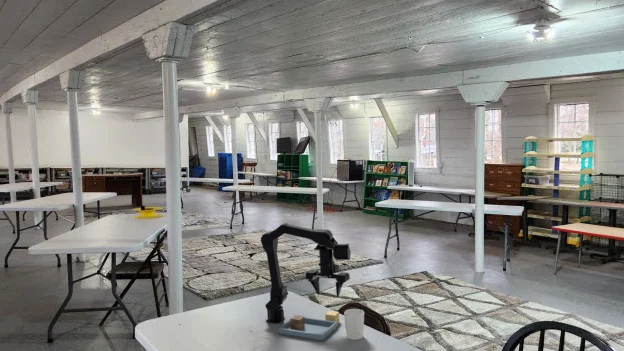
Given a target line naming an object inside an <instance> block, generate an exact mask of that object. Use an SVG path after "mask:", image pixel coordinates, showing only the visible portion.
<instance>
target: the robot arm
mask: <svg viewBox="0 0 624 351" xmlns="http://www.w3.org/2000/svg"><path fill="white" fill-rule="evenodd" d="M284 234H286V235H290V236H293V237H294V236H295V237H298V238H299V237H300V238H303V239H307V240H311V241H312V242H314V243H315V244H317V245H316V246H315V248H314V251H318V254H319V262H318V263H317V264H318V267H319V270H320V271H319V270H318V269H317V270H315V269H310V270H308V271H306V272H305V276H304V277H305V278H304V279H305V280H307V281H308V282H309V283H310V284H311V285H312V287H313V288H314V291H315V293H316V294H317V296H319V295H320V294H321V292H320V279H321V278H322V279H335V280H336V282H335V292H336V297H337V298H339V297H340V294H341V291H342V287H343V285H344V283H346V282H348V281H349V280H350V279H351V276H350V273H349V272H343V271H340V265H339V264H336V262H335V260H336V261H351V252H352V251H351V248H350V244H349V243H338V241H337V240H336V239H335V238H334V235H333V232H332V231H331V230H329V229H324V228H323V229H321V228H320V229H312V228H307V227H302V226H300V225H299V226H298V225H294V224H289V223H287V222H285V223H282V224H281V225H279V226H278V227H277V228H275V229H274V230H270V231H267V232H266V233H264V234H263V235H261V237H260V243H261V246H262V249H263V250H264V251H265V254H266V258H267V259H266V260H267V264H268V270H269V278H270V284H271V286H270V292H269V297H270V298H269V300H268V302H267V303H266V304H265V308H266V310H267V312H266V313H267V319H265V323H266V322H267V323H272V324H273V323H274V324H280V323H281V322H283V321H284V320H285V319H286V317H285V310H284V309H283V308H284V307H283V304H284V302H285V301H286V300H287V298H288V295H289V292H288V286H287V284H286V285H284V284H283V282H282V276H281V269H280V264H279V257H278V247H279V238H280V237H281V236H283V235H284ZM334 259H335V260H334Z"/></svg>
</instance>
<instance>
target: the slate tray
mask: <svg viewBox="0 0 624 351" xmlns="http://www.w3.org/2000/svg"><path fill="white" fill-rule="evenodd" d="M304 319H305V327H304V328H303V329H301V330H300V331H299V330H293V329H290V319H288V321H286V322H285V323H284V324H282V325H281V326H280V327H278V328H277V329H278V330H277V331H278V332H277V333H278V335H281V336H287V337H292V338H299V339H304V340H312V341H316V342H322V343H323V342H324V341H326V340H327V338H329V337H330V336H331V334H333V333H334V332H335V331H336V330H337V329H338V324H337V322H334V321H327V320H325V319H320V318H312V317H308V316H307V317H306V316H304Z"/></svg>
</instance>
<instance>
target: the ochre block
mask: <svg viewBox="0 0 624 351" xmlns="http://www.w3.org/2000/svg"><path fill="white" fill-rule="evenodd" d="M324 317H325V319H324V320H327V321H334V322H337V325H338V324H339V323H340V311H334V310H329V311H327V312H326V313H325V316H324Z"/></svg>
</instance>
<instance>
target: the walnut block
mask: <svg viewBox="0 0 624 351" xmlns="http://www.w3.org/2000/svg"><path fill="white" fill-rule="evenodd" d="M304 317H305V316H304V315H297V314H294V315H293V316H291V317H290V318H289V320H290V329H293V330H299V331H300V330H301V329H303V328H304V327H305V319H304Z"/></svg>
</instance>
